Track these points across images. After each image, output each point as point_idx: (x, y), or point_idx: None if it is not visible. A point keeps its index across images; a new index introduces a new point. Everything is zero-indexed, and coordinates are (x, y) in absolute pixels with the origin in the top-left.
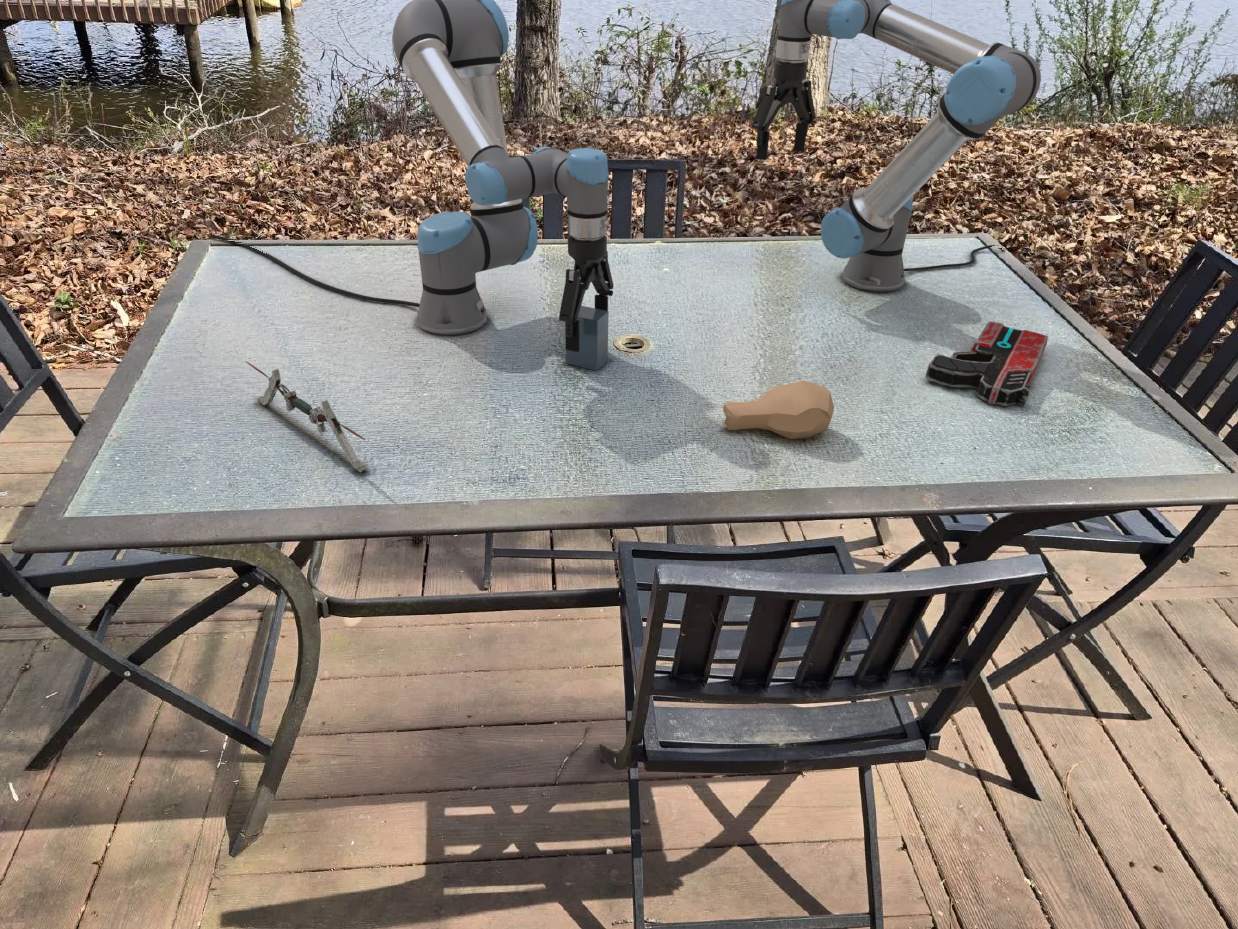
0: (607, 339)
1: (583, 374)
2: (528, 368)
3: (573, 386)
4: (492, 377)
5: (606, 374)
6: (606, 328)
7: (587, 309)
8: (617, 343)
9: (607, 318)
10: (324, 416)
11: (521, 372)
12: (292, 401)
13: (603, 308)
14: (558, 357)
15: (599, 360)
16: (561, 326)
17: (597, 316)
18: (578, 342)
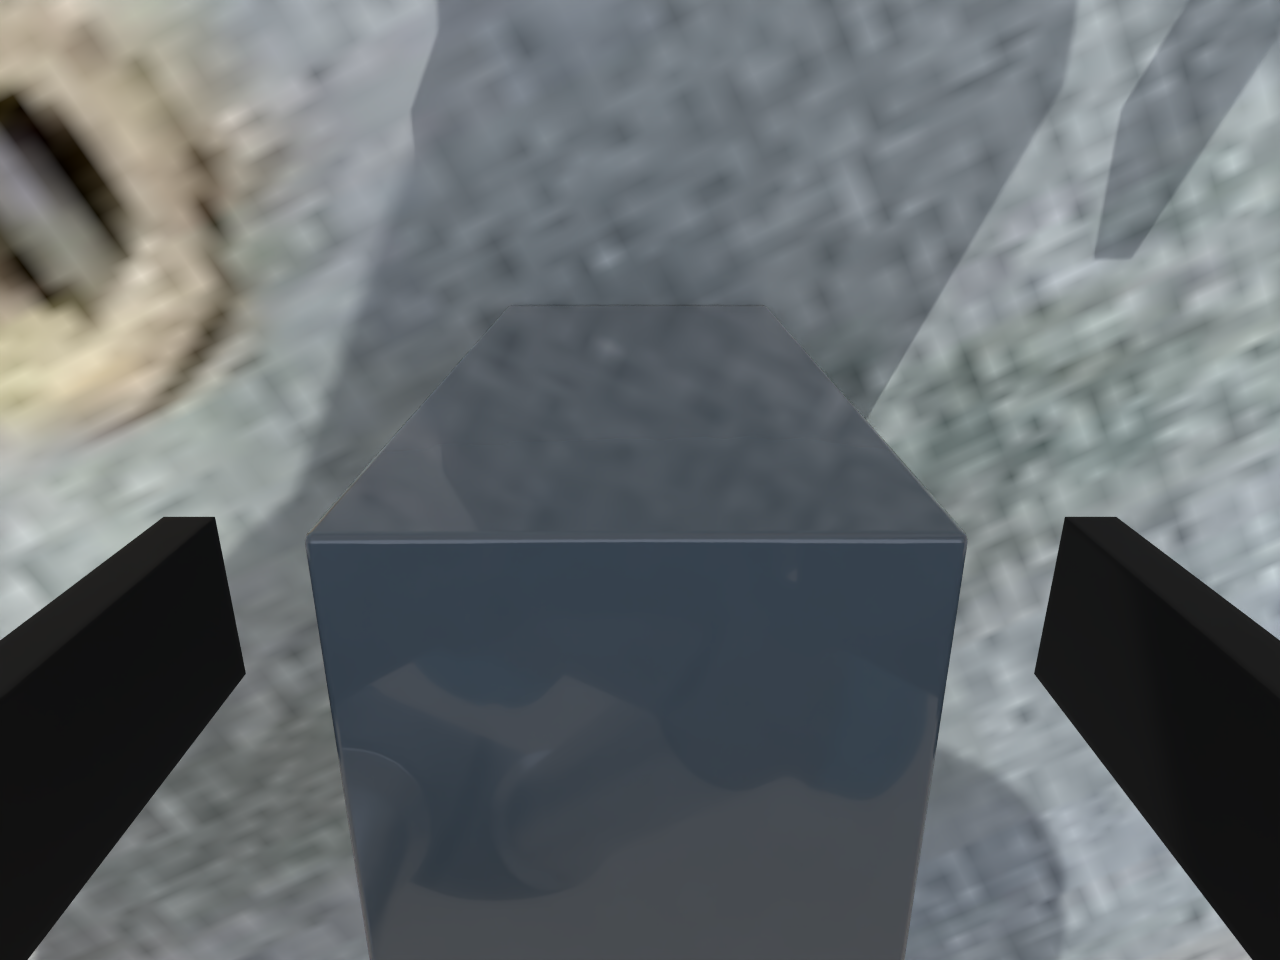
0: (483, 359)
1: (884, 391)
2: (949, 816)
3: (1149, 368)
4: (1171, 945)
5: (795, 180)
6: (491, 412)
7: (496, 937)
8: (108, 382)
9: (417, 472)
10: None
11: (1031, 828)
12: None
13: (42, 729)
14: None
15: (720, 321)
16: (154, 917)
17: (734, 636)
18: (1168, 579)
